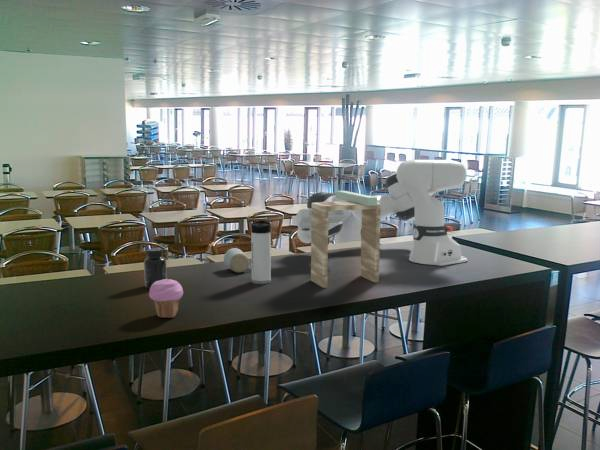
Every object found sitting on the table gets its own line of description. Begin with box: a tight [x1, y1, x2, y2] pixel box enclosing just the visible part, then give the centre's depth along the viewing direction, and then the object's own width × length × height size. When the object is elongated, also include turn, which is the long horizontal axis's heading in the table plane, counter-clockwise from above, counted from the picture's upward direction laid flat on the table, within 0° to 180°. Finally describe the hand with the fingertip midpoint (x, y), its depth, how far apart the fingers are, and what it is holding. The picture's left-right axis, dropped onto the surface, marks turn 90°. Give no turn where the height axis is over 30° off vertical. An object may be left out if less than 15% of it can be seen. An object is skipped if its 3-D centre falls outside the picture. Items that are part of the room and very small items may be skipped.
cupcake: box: [148, 278, 184, 319], centre depth 146 cm, size 9×9×10 cm
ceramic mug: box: [223, 247, 252, 274], centre depth 197 cm, size 11×8×8 cm
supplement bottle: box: [143, 247, 168, 290], centre depth 174 cm, size 7×7×12 cm
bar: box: [335, 190, 377, 206], centre depth 183 cm, size 3×24×2 cm, turn 21°
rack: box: [310, 201, 381, 289], centre depth 181 cm, size 20×10×26 cm, turn 111°
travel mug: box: [250, 219, 272, 285], centre depth 180 cm, size 6×7×20 cm
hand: (331, 206), depth 201 cm, fingers open, 8 cm apart
